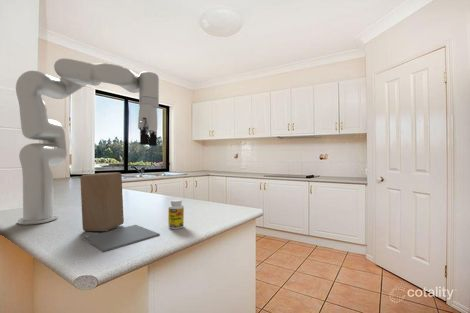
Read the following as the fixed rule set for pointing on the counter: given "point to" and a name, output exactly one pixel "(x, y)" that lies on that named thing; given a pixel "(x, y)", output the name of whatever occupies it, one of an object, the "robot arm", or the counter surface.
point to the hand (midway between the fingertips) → (148, 145)
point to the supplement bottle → (176, 214)
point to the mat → (119, 237)
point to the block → (101, 201)
